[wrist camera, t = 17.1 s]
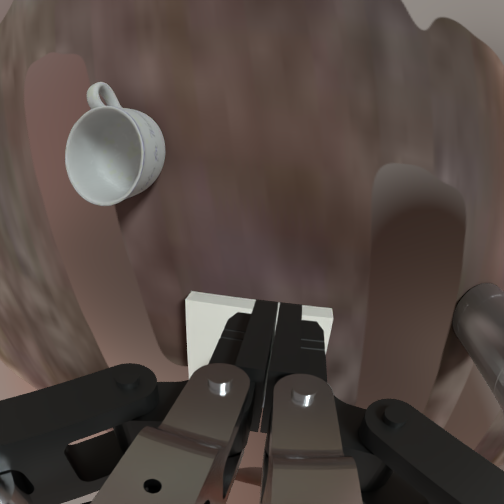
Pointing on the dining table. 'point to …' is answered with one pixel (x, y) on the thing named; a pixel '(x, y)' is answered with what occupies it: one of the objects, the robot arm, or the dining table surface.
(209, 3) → the dining table surface
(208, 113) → the dining table surface
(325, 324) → the socket plate
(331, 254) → the dining table surface
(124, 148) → the teacup
